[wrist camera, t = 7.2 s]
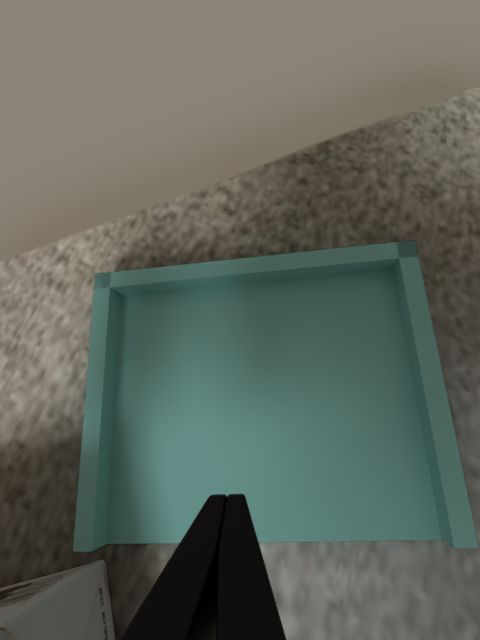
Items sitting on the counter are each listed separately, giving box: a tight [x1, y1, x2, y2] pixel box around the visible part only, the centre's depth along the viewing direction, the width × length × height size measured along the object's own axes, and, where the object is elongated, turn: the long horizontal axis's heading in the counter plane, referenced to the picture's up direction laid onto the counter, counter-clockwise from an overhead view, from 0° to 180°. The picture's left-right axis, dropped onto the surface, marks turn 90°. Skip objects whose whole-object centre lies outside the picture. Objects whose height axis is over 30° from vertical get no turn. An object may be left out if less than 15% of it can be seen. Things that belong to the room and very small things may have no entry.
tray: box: [73, 240, 479, 552], centre depth 17 cm, size 12×15×2 cm
